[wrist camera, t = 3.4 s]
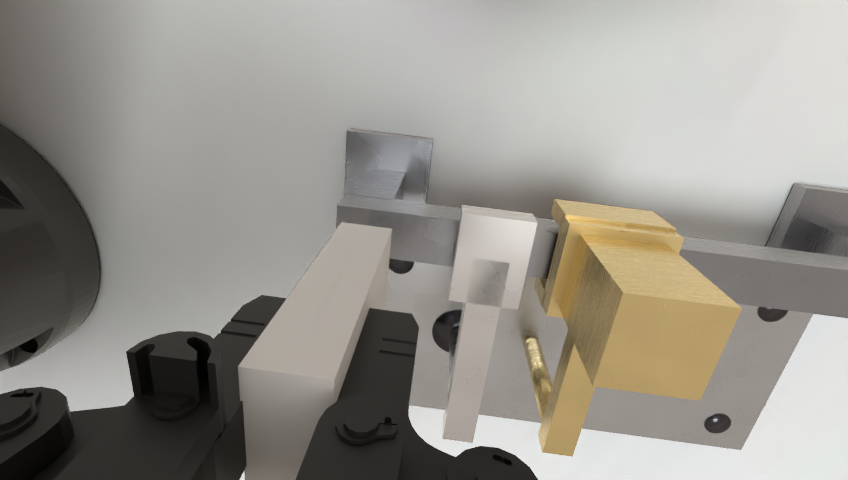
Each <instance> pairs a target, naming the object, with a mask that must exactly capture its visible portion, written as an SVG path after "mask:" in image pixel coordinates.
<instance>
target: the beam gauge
mask: <svg viewBox="0 0 848 480" xmlns="http://www.w3.org/2000/svg"><path fill="white" fill-rule="evenodd" d="M432 145H433V139H432V138H424V137H416V136H408V135H400V134H392V133H384V132H376V131H368V130H360V129H352V128H351V129H349V130H348V131H347V144H346V167H345V190H344V198H343V199H342V200H341V201H340V202H339V204H338V205H337V225H336V229H337V228H338V226H339V225H340V224H341V222H344V223H352V224H360V225H368V226H375V227H383V228H391V229H392V236H391V247H390V258H389V259H397V260H404V261H412V262H420V263H427V264H435V265H443V266H450V267H452V272H451V279H450V285H449V301H457V302H463V307H462V313H461V319H460V325H459V328H455V329H453V330H452V331H451V332H450V335H449V387H448V396H447V402H446V408H445V414H444V420H443V439H449V440H457V441H464V442H471V443H473V438H474V433H475V428H476V423H477V419H478V414H479V409H480V404H481V399H482V395H483V390H484V385H485V380H486V375H487V370H488V366H489V361H490V356H491V351H492V346H493V342H494V337H495V332H496V327H497V322H498V318H499V313H500V308H501V307H502V308H510V309H517V310H518V307H519V303H520V298H521V294H522V290H523V285H524V281H525V276H528V277H535V278H543V279H547V278H548V274H549V270H550V266H551V262H552V258H553V254H554V250H555V246H556V242H557V238H558V234H559V230H560V228H559V226H558V225H557V223H556V222H555V220H553V219H545V218H537V217H534V215H533V214H531V213H523V212H516V211H508V210H500V209H492V208H484V207H476V206H468V205H462V206H461V208H459V207H451V206H443V205H435V204H427V203H426V196H427V187H428V179H429V170H430V162H431V154H432ZM682 237H683V238H685V239H684V242H683V244H682V247H681V250H680V252H679V255H680V256H681V257H683V258H684V259H685V260H686V261H687V262H689V263H690V264H691V265H692V266H693V267H694V268H696V269H697V270H698V271H699V272H700V273H701V274H703V275H704V276H705V277H706V278H707V279H708V280H710V281H711V282H712V283H713V284H714V285H716V286H717V287H718V288H719V289H720V290H721V291H723V292H724V293H725V294H726V295H727V296H728V297H730V298H731V299H732V300H733V301H734V302H735V303H737V304H743V305H751V306H759V307H766V308H774V309H782V310H789V311H797V312H805V313H813V314H820V315H828V316H836V317H843V318H848V190H841V189H833V188H825V187H817V186H809V185H801V184H794V185H793V187H792V190H791V192H790V194H789V196H788V198H787V201H786V203H785V205H784V207H783V210H782V212H781V214H780V216H779V218H778V221H777V223H776V225H775V227H774V230H773V232H772V234H771V236H770V238H769V241H768V243H767V245H766V247H765V246H757V245H749V244H741V243H734V242H726V241H718V240H710V239H702V238H694V237H686V236H682Z"/></svg>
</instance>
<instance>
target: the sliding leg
mask: <svg viewBox="0 0 848 480" xmlns="http://www.w3.org/2000/svg"><path fill="white" fill-rule="evenodd" d="M551 215H552V217H553V219H554V220H555V222H556V223H557V225H558V226H559V228H560V230H559V234H558V238H557V242H556V246H555V250H554V254H553V258H552V262H551V266H550V270H549V274H548V278H547V279H543V278H536V279H535V283H534V287H535V290H536V293H537V295H538V298H539V301H540V304H541V307H542V309H544V311H545V314H546V316H551V317H559V318H564V321H565V323H566V325H567V328H568V331H567V335H566V338H565V342H564V345H563V349H562V352H561V356H560V360H559V363H558V367H557V370H556V374H555V377H554V381H553V384H552V381H551V377H550V374H549V371H548V367H547V364H546V361H545V358H544V354H543V351H542V348H541V344H540V342H539V340H537V339H535V338H529V339H527V340H526V341H525V342H524V344H523V347H524V351H525V355H526V359H527V363H528V368H529V372H530V376H531V380H532V384H533V388H534V392H535V396H536V401H537V405H538V409H539V413H540V417H541V421H542V423H541V427H540V430H539V434H538V435H539V440H540V444H541V449H542V452H544V453H552V454H559V455H566V456H573V453H574V450H575V447H576V444H577V441H578V438H579V435H580V432H581V429H582V426H583V423H584V420H585V417H586V414H587V411H588V408H589V405H590V402H591V399H592V396H593V393H594V390H595V387H601V388H609V389H616V390H624V391H631V392H638V393H646V394H653V395H661V396H668V397H676V398H683V399H691V400H698V401H700V400H701V398H702V396H703V393H704V391H705V389H706V387H707V385H708V382H709V380H710V378H711V376H712V374H713V371H714V369H715V367H716V365H717V363H718V361H719V358H720V356H721V354H722V352H723V350H724V347H725V345H726V343H727V341H728V339H729V336H730V334H731V332H732V330H733V328H734V325H735V323H736V321H737V319H738V317H739V314H740V312H741V310H742V308H741V307H740V306H739V305H738V304H737V303H735V302H734V301H733V300H732V299H731V298H730V297H728V296H727V295H726V294H725V293H724V292H723V291H721V290H720V289H719V288H718V287H717V286H716V285H714V284H713V283H712V282H711V281H710V280H708V279H707V278H706V277H705V276H704V275H703V274H701V273H700V272H699V271H698V270H697V269H696V268H694V267H693V266H692V265H691V264H690V263H689V262H687V261H686V260H685V259H684V258H683V257H681V256H680V255H679V252H680V250H681V247H682V244H683V242H684V239H685V238H683V237H682V236H681V235H679V234H678V233H677V232H676V228H675V227H674V226H672V225H671V224H670V223H668V222H667V221H666V220H664V219H663V218H662V217H660V216H659V215H657V214H656V213H655V212H653V211H647V210H639V209H631V208H623V207H615V206H607V205H599V204H591V203H583V202H575V201H567V200H560V199H554V203H553V207H552V211H551Z"/></svg>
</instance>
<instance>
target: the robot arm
mask: <svg viewBox="0 0 848 480" xmlns="http://www.w3.org/2000/svg"><path fill="white" fill-rule="evenodd" d="M391 236H392V229H391V228H383V227H375V226H368V225H360V224H352V223H344V222H341V224H340V225H339V226H338V228H337V229H336V231H335V232H334V233H333V235H332V236H331V238H330V239H329V240H328V242H327V243H326V244H325V246H324V247H323V249H322V250H321V251H320V253H319V254H318V256H317V257H316V258H315V260H314V261H313V263H312V264H311V265H310V267H309V268H308V270H307V271H306V272H305V274H304V275H303V277H302V278H301V279H300V281H299V282H298V284H297V285H296V286H295V288H294V289H293V290H292V292H291V293H290V295H289V296H288V297H287V299H286V298H279V297H271V296H264V295H261V296H260V297H258V298H256V299H254V300H252V301H250V302H249V303H247V304H245V305H243V306H242V307H241V309H240V310H239V311H238V312H237V313H236V314H235V315H234V316H233V318H232V319H231V322H228V323H227V324H226V326H225V327H224V328H223V329H222V330H221V334H218V335H217V336H216V337H215V338H214V339H213V338H212V337H211V336H209V335H206V334H202V333H198V332H182V331H178V332H172V333H167V334H161V335H158V336H155V337H152V338H150V339H147V340H145V341H142V342H140V343H139V344H137V345H136V346H134V347H133V348H131V349H130V350H128V351H126V353H127V358H128V364H129V369H130V375H131V380H132V386H133V391H134V397H133V398H132V399H131V400H130V401H129V402H128V403H127V404H126V405H124V406H119V407H111V408H102V409H92V410H83V411H73V412H70V410H69V406H68V402H67V398H66V396H64V395H63V394H62V393H61V392H59V391H58V390H55V389H50V388H44V387H36V388H25V389H18V390H15V391H11V392H7V393H4V394H0V480H239V479H240V477H241V475H242V473H243V471H244V470H245V480H538V479H537V478H536V476H535V475H534V473H533V472H532V470H531V469H530V467H529V466H527V465H526V464H525V463H524V462H522V461H521V460H520V459H519V458H518V457H516V456H515V455H513V454H511V453H508V452H506V451H504V450H501V449H499V448H493V447H484V446H479V447H475V448H471V449H467V450H465V451H463V452H462V453H461V454H459V455H458V456H457V457H453V456H451V455H449V454H447V453H444V452H442V451H440V450H438V449H436V448H434V447H433V446H431V445H429V444H427V443H426V442H425V441H424V440H423V439H422V438H421V437H419V436H418V434H417V433H416V432H415V430H414V429H413V427H412V425H411V423H410V420H409V417H408V409H409V402H410V394H411V387H412V379H413V372H414V364H415V356H416V348H417V340H418V332H419V326H418V324H417V322H416V320H415V319H414V317H413V315H412V314H411V313H404V312H396V311H388V310H385V302H386V291H387V280H388V269H389V258H390V247H391ZM98 287H99V261H98V254H97V249H96V245H95V242H94V238H93V235H92V232H91V230H90V227H89V225H88V222H87V220H86V218H85V216H84V214H83V212H82V210H81V208H80V206H79V205H78V203H77V201H76V200H75V198H74V197H73V195H72V194H71V192H70V191H69V189H68V188H67V186H66V185H65V184H64V182H63V181H62V180H61V179H60V177H59V176H58V175H57V174H56V173H55V171H54V170H53V169H52V168H51V167H50V166H49V165H48V164H47V163H46V162H45V161H44V160H43V159H42V158H41V157H40V156H39V155H38V154H37V153H36V152H35V151H34V150H33V149H32V148H31V147H29V146H28V145H27V144H26V143H25V142H23V141H22V140H21V139H20V138H18V137H17V136H16V135H14V134H13V133H12V132H10V131H9V130H7V129H6V128H4V127H3V126H1V125H0V371H2V370H5V369H8V368H11V367H13V366H16V365H19V364H22V363H24V362H26V361H29V360H31V359H33V358H35V357H37V356H38V355H40V354H42V353H43V352H45V351H46V350H48V349H49V348H51V347H52V346H53V345H55V344H56V343H58V342H59V341H61V340H62V339H63V338H65V337H66V336H68V335H69V334H71V333H72V332H73V331H75V330H76V329H77V328H78V327H79V326H80V325H81V324H82V323H83V322H84V320H85V319H86V318H87V316H88V315H89V313H90V311H91V309H92V307H93V305H94V303H95V299H96V296H97V292H98Z"/></svg>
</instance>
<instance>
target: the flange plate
mask: <svg viewBox="0 0 848 480" xmlns="http://www.w3.org/2000/svg"><path fill="white" fill-rule="evenodd" d="M451 272H452V267H450V266H443V265H435V264H427V263H420V262H412V261H404V260H397V259H389V269H388V280H387V291H386V302H385V310H388V311H396V312H404V313H411V314H412V315H413V317H414V319H415V320H416V322H417V324H418V326H419V332H418V340H417V348H416V356H415V364H414V372H413V379H412V387H411V394H410V402H409V405H414V406H421V407H429V408H436V409H444V410H445V408H446V402H447V396H448V387H449V335H450V332H451V331H452V330H453V329H455V328H459V325H460V319H461V313H462V307H463V302H457V301H449V285H450V279H451ZM535 279H536V278H535V277H528V276H525V281H524V285H523V290H522V294H521V298H520V303H519V307H518V310H517V309H510V308H502V307H501V308H500V313H499V318H498V322H497V327H496V332H495V337H494V342H493V346H492V351H491V356H490V361H489V366H488V370H487V375H486V380H485V385H484V390H483V395H482V399H481V404H480V409H479V414H480V415H488V416H495V417H502V418H510V419H517V420H524V421H532V422H539V423H542V421H541V417H540V413H539V409H538V405H537V401H536V396H535V392H534V388H533V384H532V380H531V376H530V372H529V368H528V363H527V359H526V355H525V351H524V347H523V344H524V342H525V341H526V340H527V339H529V338H535V339H537V340H539V342H540V344H541V348H542V351H543V354H544V358H545V361H546V364H547V367H548V371H549V374H550V377H551V381H552V384H553V381H554V377H555V374H556V370H557V367H558V363H559V360H560V356H561V352H562V349H563V345H564V342H565V338H566V335H567V331H568V328H567V325H566V323H565V321H564V318H559V317H551V316H546V314H545V311H544V309H542V307H541V304H540V301H539V298H538V295H537V293H536V290H535V287H534V283H535ZM738 305H739V306H740V307H741V308H742V310H741V312H740V314H739V317H738V319H737V321H736V323H735V325H734V328H733V330H732V332H731V334H730V336H729V339H728V341H727V343H726V345H725V347H724V350H723V352H722V354H721V356H720V358H719V361H718V363H717V365H716V367H715V369H714V371H713V374H712V376H711V378H710V380H709V382H708V385H707V387H706V389H705V391H704V393H703V396H702V398H701V400H700V401H698V400H691V399H683V398H676V397H668V396H661V395H653V394H646V393H638V392H631V391H624V390H616V389H609V388H601V387H595V390H594V393H593V396H592V399H591V402H590V405H589V408H588V411H587V414H586V417H585V420H584V423H583V426H582V428H583V429H591V430H598V431H605V432H613V433H620V434H628V435H635V436H642V437H650V438H657V439H664V440H672V441H679V442H686V443H694V444H701V445H708V446H716V447H723V448H731V449H738V450H741V449H742V447H743V445H744V443H745V441H746V440H747V438H748V436H749V434H750V432H751V430H752V428H753V426H754V425H755V423H756V421H757V419H758V417H759V415H760V413H761V411H762V409H763V408H764V406H765V404H766V402H767V400H768V398H769V396H770V394H771V393H772V391H773V389H774V387H775V385H776V383H777V381H778V379H779V377H780V376H781V374H782V372H783V370H784V368H785V366H786V364H787V362H788V360H789V359H790V357H791V355H792V353H793V351H794V349H795V347H796V345H797V344H798V342H799V340H800V338H801V336H802V334H803V332H804V330H805V328H806V327H807V325H808V323H809V321H810V319H811V317H812V315H813V313H805V312H797V311H789V310H782V309H774V308H766V307H759V306H751V305H743V304H738Z"/></svg>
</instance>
